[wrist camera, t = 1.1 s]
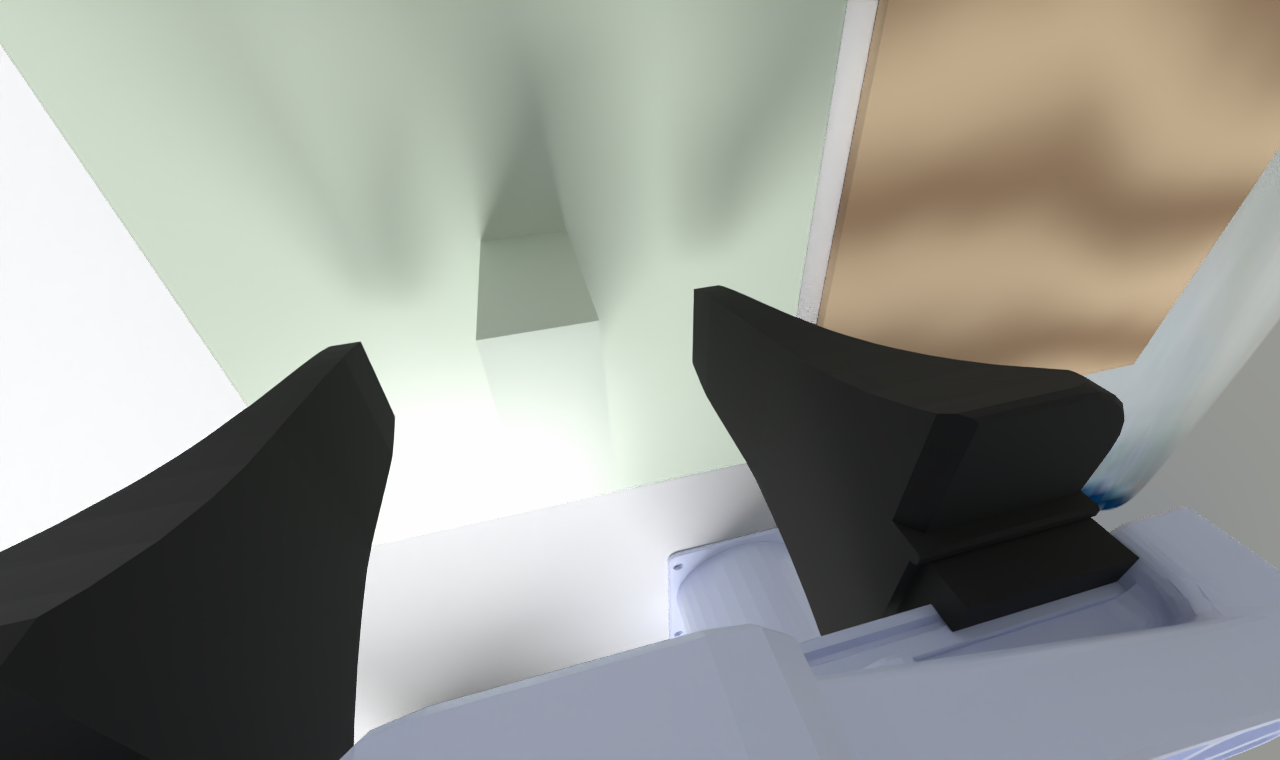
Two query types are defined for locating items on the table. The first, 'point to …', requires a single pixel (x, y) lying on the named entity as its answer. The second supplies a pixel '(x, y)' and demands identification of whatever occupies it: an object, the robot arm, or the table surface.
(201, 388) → the table surface
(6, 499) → the table surface
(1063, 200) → the mat
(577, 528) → the table surface
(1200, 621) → the robot arm
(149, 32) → the lid
